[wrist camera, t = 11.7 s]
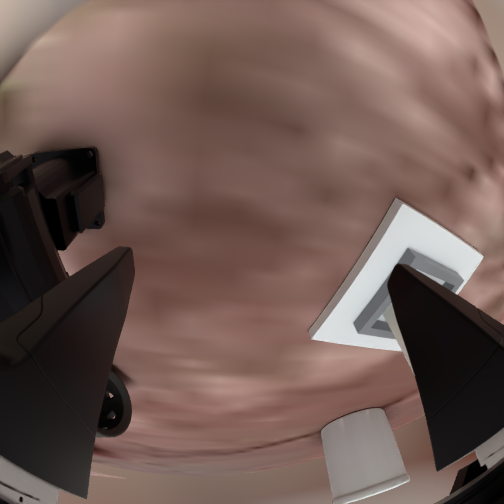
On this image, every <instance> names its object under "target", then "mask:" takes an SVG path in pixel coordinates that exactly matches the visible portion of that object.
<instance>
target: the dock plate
mask: <svg viewBox="0 0 504 504" xmlns="http://www.w3.org/2000/svg"><path fill="white" fill-rule="evenodd" d="M483 257H484V256H483V255H481V254H480V253H479V252H478V251H477V250H476V249H474V248H473V247H472V246H470V245H469V244H467V243H466V242H465V241H463V240H462V239H460V238H459V237H458V236H456V235H455V234H453V233H452V232H450V231H449V230H447V229H446V228H444V227H443V226H441V225H440V224H438V223H437V222H435V221H434V220H432V219H431V218H429V217H427V216H426V215H424V214H423V213H421V212H419V211H418V210H416V209H414V208H413V207H411V206H409V205H408V204H406V203H404V202H403V201H401V200H399V199H398V198H395V200H394V201H393V203H392V205H391V207H390V208H389V210H388V212H387V214H386V215H385V217H384V219H383V220H382V222H381V224H380V225H379V227H378V229H377V230H376V232H375V234H374V235H373V237H372V239H371V240H370V242H369V243H368V245H367V247H366V248H365V250H364V251H363V253H362V255H361V256H360V258H359V259H358V261H357V262H356V264H355V265H354V267H353V268H352V270H351V271H350V273H349V274H348V276H347V277H346V279H345V280H344V282H343V283H342V285H341V286H340V288H339V289H338V291H337V292H336V293H335V295H334V296H333V298H332V299H331V301H330V302H329V303H328V305H327V306H326V308H325V309H324V310H323V312H322V313H321V315H320V316H319V317H318V319H317V320H316V321H315V323H314V324H313V325H312V327H311V328H310V329H309V334H310V337H311V339H313V340H319V341H325V342H332V343H339V344H346V345H353V346H360V347H368V348H377V349H385V350H395V351H402V350H401V348H400V346H399V344H398V342H397V340H396V338H395V336H394V334H393V332H392V331H391V329H390V327H389V325H388V323H387V321H386V320H385V318H384V316H383V312H384V311H385V310H386V309H387V307H388V306H389V305H390V304H391V299H390V295H389V292H388V288H387V282H388V279H389V277H390V275H391V273H392V270H393V268H394V266H395V265H396V264H397V263H403V264H407V265H409V266H411V267H413V268H414V269H416V270H418V271H419V272H421V273H423V274H424V275H426V276H428V277H429V278H431V279H433V280H434V281H436V282H438V283H439V284H441V285H442V286H444V287H446V288H447V289H449V290H451V291H452V292H454V293H455V294H458V293H459V292H460V290H461V289H462V288H463V286H464V285H465V283H466V282H467V281H468V279H469V278H470V276H471V275H472V274H473V272H474V271H475V269H476V268H477V266H478V265H479V263H480V262H481V260H482V259H483Z"/></svg>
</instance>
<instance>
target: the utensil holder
mask: <svg viewBox="0 0 504 504" xmlns="http://www.w3.org/2000/svg"><path fill="white" fill-rule="evenodd" d="M321 437H322V443H323V449H324V454H325V459H326V465H327V469H328V474H329V480H330V485H331V490H332V495H333V501H332V503H333V504H346V503H350V502H354V501H357V500H360V499H363V498H367V497H370V496H373V495H375V494H378V493H381V492H384V491H387V490H390V489H392V488H395V487H397V486H399V485H401V484H404V483H406V482H408V481H410V477H409V475H408V474H407V473H406V470H405V467H404V464H403V461H402V458H401V455H400V452H399V449H398V446H397V443H396V441H395V438H394V435H393V432H392V430H391V427H390V424H389V422H388V419H387V417H386V415H385V412H384V410H383V409H381V408H371V409H365V410H361V411H358V412H355V413H351V414H349V415H346V416H343V417H341V418H339V419H337V420H335V421H333V422H331V423H329V424H328V425H326V426H325V427H324V428H323V429H322V430H321Z"/></svg>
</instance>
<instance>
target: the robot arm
mask: <svg viewBox="0 0 504 504" xmlns="http://www.w3.org/2000/svg"><path fill="white" fill-rule="evenodd" d="M89 151H91V152H92V153H93V156H90V155H89ZM34 157H35V158H36V161H35V160H34ZM104 206H105V205H104V196H103V186H102V176H101V175H100V173H99V163H98V151H97V149H96V148H95V147H92V146H90V147H78V148H68V149H59V150H51V151H43V152H36V153H34V154H32V155H31V154H29V155H26V156H22V155H19V156H13V155H12V154H11V153H10V152H9V151H8V150H7V151H5V152H3V153H1V154H0V504H57V501H58V494H59V490H61V491H64V492H66V493H69V494H72V495H75V496H78V497H81V498H84V499H87V494H88V486H89V477H90V469H91V462H92V456H93V449H94V444H95V436H96V432H97V426H98V421H99V416H100V412H101V407H102V402H103V398H104V394H105V390H106V385H107V381H108V377H109V373H110V370H111V366H112V362H113V358H114V355H115V351H116V348H117V344H118V341H119V338H120V334H121V331H122V328H123V324H124V321H125V318H126V314H127V309H128V304H129V299H130V294H131V290H132V285H133V280H134V276H135V267H134V260H133V252H132V249H131V248H130V247H122V246H120V247H117V248H115V249H114V250H112V251H110V252H109V253H107V254H105V255H104V256H102V257H100V258H99V259H97V260H96V261H94V262H92V263H91V264H89V265H87V266H86V267H84V268H83V269H81V270H80V271H78V272H76V273H75V274H73V275H72V276H70V277H69V274H68V272H66V271H65V268H64V266H63V263H62V261H61V258H60V256H59V253H58V250H63V251H64V250H66V248H67V247H68V246H69V244H70V243H71V242H72V241H73V239H74V238H75V237H76V236H77V234H78V233H83V231H84V230H85V229H100V228H102V226H103V225H104V214H103V207H104ZM96 220H98V221H99V222H100V224H98V223H97V222H96ZM387 288H388V292H389V295H390V299H391V302H392V306H393V310H394V313H395V317H396V321H397V324H398V327H399V330H400V332H401V335H402V338H403V341H404V344H405V347H406V350H407V353H408V356H409V359H410V362H411V366H412V369H413V372H414V375H415V379H416V382H417V386H418V389H419V393H420V397H421V400H422V404H423V408H424V412H425V416H426V420H427V426H428V430H429V435H430V440H431V444H432V449H433V455H434V460H435V467H436V470H437V471H440V470H442V469H444V468H445V467H447V466H449V465H451V464H453V463H455V462H456V461H458V460H460V459H462V458H463V457H465V456H467V455H469V454H470V453H472V452H473V451H475V452H476V455H477V458H478V459H477V460H475V461H473V462H472V463H470V464H469V465H467V466H465V467H464V468H462V469H460V470H459V471H458V473H457V476H456V480H455V482H454V485H453V487H452V490H451V492H450V495H449V496H447V497H445V498H444V499H442V500H440V501H438V502H436V503H434V504H504V325H503V324H501V323H500V322H498V321H497V320H495V319H494V318H492V317H491V316H489V315H487V314H486V313H484V312H483V311H481V310H480V309H478V308H476V307H475V306H474V305H472V304H471V303H469V302H468V301H466V300H465V299H463V298H462V297H460V296H458V295H457V294H455V293H454V292H452V291H451V290H449V289H447V288H446V287H444V286H442V285H441V284H439V283H438V282H436V281H434V280H433V279H431V278H429V277H428V276H426V275H424V274H423V273H421V272H419V271H418V270H416V269H414V268H413V267H411V266H409V265H407V264H403V263H397V264H396V265H395V266H394V268H393V270H392V273H391V275H390V277H389V279H388V282H387Z"/></svg>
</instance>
